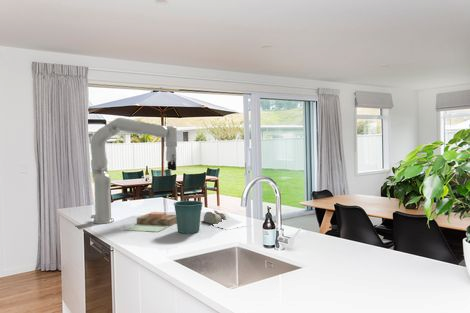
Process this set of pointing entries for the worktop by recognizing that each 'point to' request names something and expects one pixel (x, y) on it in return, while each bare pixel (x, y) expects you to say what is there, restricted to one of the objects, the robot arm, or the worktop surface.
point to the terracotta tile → (157, 214)
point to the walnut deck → (157, 220)
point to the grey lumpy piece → (213, 218)
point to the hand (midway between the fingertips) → (171, 169)
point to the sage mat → (146, 228)
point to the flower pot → (188, 216)
